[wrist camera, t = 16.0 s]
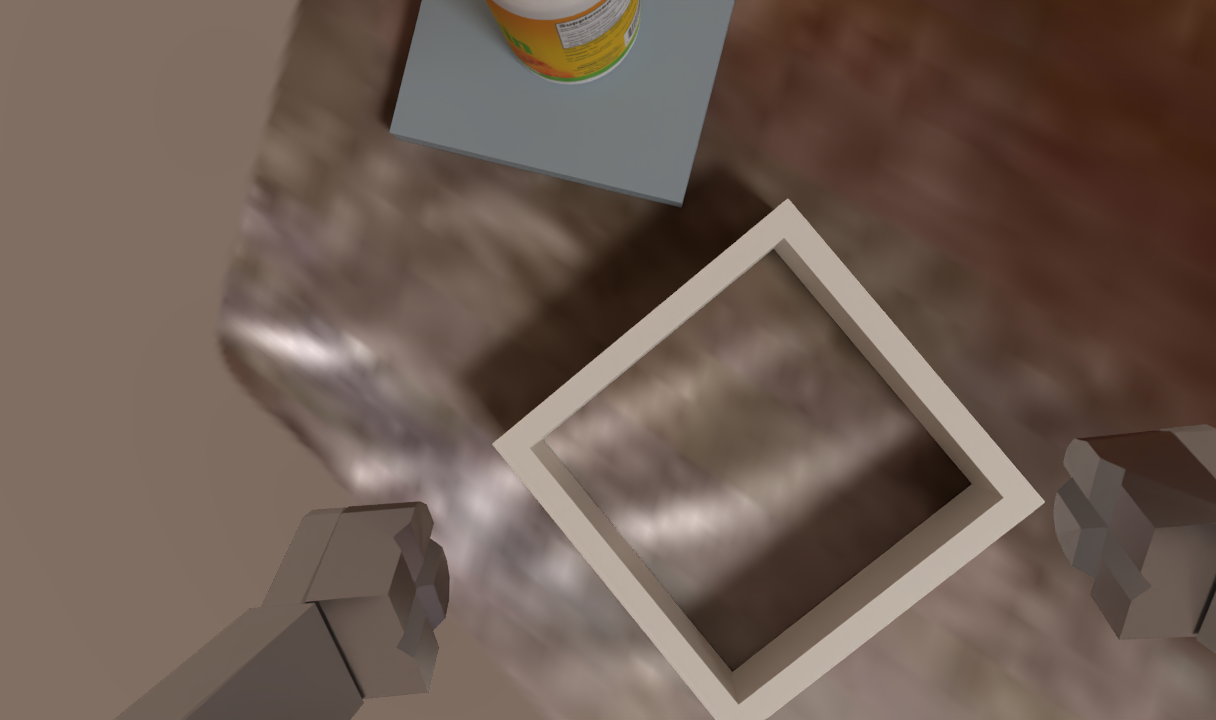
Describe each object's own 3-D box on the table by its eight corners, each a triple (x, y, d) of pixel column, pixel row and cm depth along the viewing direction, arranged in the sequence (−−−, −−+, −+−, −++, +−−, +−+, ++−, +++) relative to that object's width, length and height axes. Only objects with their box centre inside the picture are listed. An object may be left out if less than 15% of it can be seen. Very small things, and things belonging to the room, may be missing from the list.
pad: (757, -88, 32) (760, -102, 31) (681, 208, 32) (682, 203, 31) (468, -149, 33) (462, -165, 32) (397, 139, 33) (389, 132, 32)
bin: (777, 212, 32) (787, 198, 29) (1009, 487, 31) (1045, 502, 28) (508, 435, 33) (491, 443, 30) (728, 706, 32) (734, 743, 29)
